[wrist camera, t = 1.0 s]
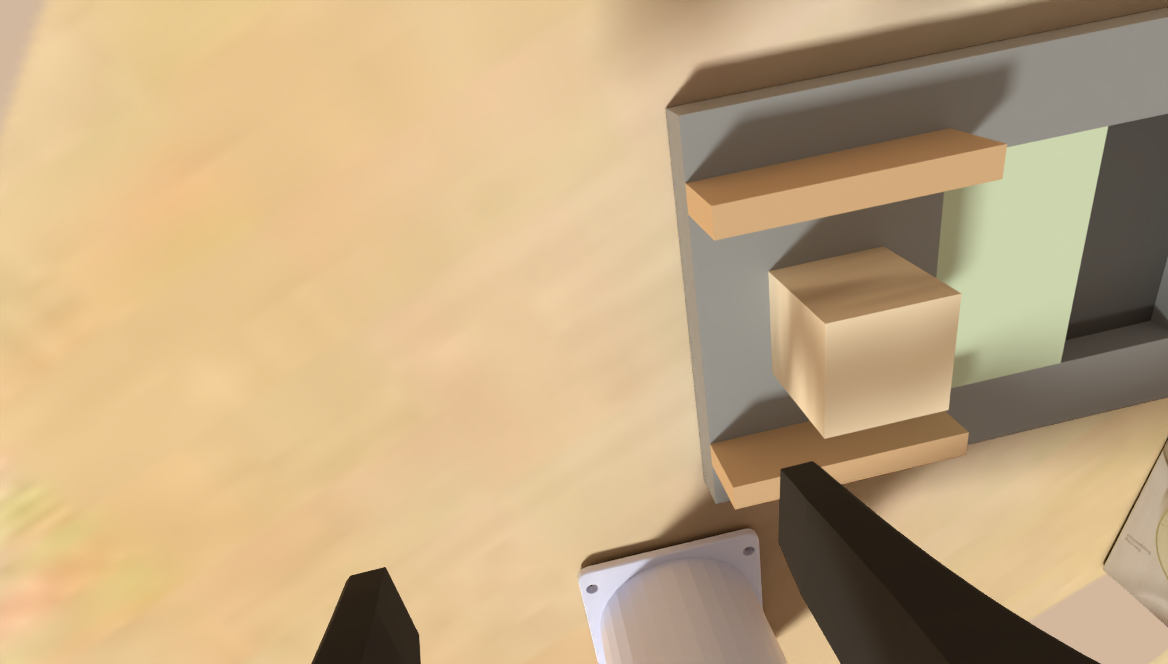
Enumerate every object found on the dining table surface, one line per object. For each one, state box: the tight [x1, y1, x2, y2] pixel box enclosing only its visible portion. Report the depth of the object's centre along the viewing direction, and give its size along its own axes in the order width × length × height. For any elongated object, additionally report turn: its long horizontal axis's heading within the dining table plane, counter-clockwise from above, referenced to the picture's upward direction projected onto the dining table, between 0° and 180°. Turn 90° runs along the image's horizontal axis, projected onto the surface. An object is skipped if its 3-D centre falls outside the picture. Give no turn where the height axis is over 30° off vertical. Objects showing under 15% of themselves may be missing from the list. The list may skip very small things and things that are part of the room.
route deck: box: [666, 7, 1168, 510], centre depth 23 cm, size 15×20×4 cm
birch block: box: [768, 246, 962, 439], centre depth 21 cm, size 4×4×4 cm
